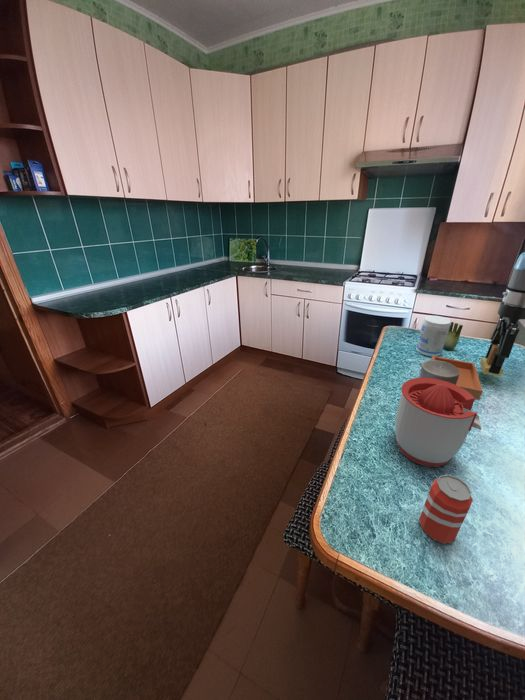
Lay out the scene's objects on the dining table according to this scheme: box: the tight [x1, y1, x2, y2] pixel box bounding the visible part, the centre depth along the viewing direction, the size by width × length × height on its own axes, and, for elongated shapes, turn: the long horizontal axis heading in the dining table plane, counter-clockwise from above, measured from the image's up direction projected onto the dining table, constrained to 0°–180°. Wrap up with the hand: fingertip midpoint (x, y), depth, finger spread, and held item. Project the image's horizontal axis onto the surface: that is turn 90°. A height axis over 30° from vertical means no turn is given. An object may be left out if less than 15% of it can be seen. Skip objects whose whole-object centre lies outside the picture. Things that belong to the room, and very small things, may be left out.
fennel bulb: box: [443, 321, 464, 351], centre depth 122 cm, size 6×5×12 cm
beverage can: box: [418, 474, 473, 544], centre depth 54 cm, size 6×6×12 cm
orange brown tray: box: [431, 356, 483, 400], centre depth 102 cm, size 14×20×3 cm
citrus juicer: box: [394, 377, 483, 468], centre depth 69 cm, size 16×17×20 cm
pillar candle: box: [418, 359, 460, 385], centre depth 87 cm, size 10×10×15 cm
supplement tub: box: [415, 315, 452, 357], centre depth 118 cm, size 10×10×15 cm
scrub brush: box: [479, 344, 504, 378], centre depth 99 cm, size 5×8×9 cm, turn 153°
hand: (491, 366), depth 101 cm, fingers closed on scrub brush, 8 cm apart
